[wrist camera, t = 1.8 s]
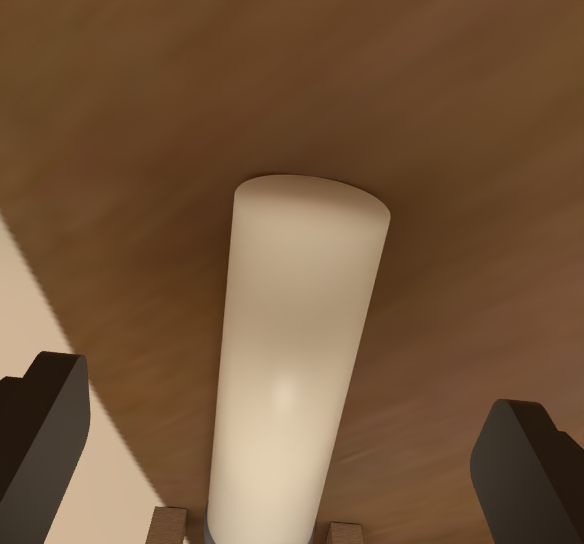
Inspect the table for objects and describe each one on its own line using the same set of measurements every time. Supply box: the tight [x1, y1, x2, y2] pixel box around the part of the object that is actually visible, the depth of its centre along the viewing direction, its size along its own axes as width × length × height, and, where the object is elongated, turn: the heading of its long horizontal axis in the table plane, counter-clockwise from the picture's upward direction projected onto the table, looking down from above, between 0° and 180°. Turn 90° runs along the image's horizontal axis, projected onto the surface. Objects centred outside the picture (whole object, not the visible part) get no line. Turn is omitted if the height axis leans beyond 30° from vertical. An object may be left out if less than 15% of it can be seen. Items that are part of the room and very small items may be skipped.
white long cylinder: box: [203, 175, 391, 544], centre depth 19 cm, size 16×5×5 cm, turn 172°
